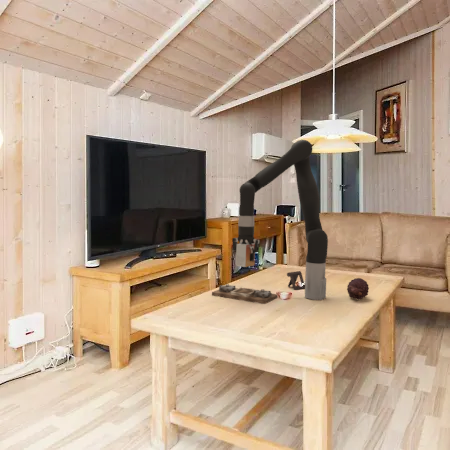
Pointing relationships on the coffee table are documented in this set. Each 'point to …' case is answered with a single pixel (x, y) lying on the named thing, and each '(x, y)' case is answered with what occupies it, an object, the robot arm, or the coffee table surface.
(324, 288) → the robot arm
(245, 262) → the small box
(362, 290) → the pine cone
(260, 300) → the gear board
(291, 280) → the portable electronic device stand
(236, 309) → the coffee table surface
